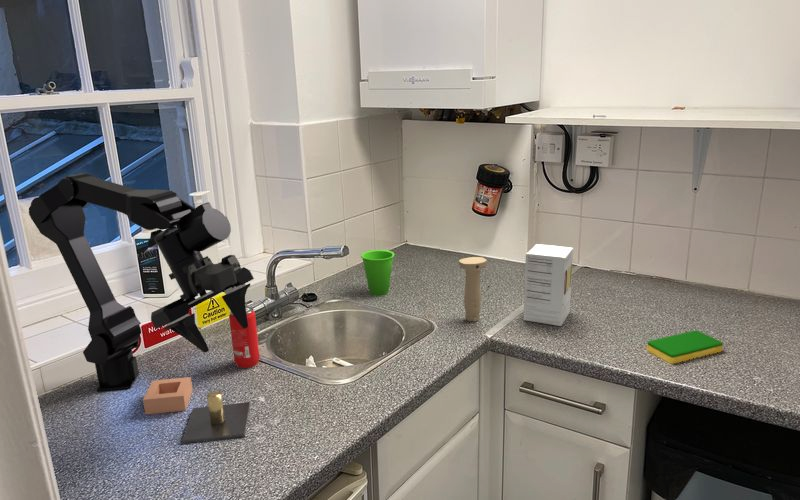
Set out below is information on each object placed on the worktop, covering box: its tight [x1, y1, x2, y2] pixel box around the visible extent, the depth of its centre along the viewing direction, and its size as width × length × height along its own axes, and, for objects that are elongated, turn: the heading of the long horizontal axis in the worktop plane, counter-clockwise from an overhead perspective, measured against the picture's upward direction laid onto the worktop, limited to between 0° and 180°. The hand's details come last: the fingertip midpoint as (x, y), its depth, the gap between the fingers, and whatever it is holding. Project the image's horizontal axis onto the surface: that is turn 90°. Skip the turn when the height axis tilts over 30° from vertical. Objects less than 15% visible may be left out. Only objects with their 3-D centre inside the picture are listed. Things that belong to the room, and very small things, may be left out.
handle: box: [458, 256, 488, 323], centre depth 141 cm, size 5×6×15 cm
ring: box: [142, 376, 193, 415], centre depth 110 cm, size 7×7×3 cm
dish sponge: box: [646, 329, 724, 365], centre depth 125 cm, size 7×14×2 cm, turn 111°
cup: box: [360, 249, 395, 297], centre depth 161 cm, size 9×9×11 cm
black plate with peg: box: [182, 390, 251, 444], centre depth 103 cm, size 10×10×6 cm
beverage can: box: [228, 305, 260, 369], centre depth 123 cm, size 5×5×12 cm
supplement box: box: [523, 243, 574, 327], centre depth 141 cm, size 10×9×17 cm
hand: (227, 339), depth 104 cm, fingers open, 9 cm apart
